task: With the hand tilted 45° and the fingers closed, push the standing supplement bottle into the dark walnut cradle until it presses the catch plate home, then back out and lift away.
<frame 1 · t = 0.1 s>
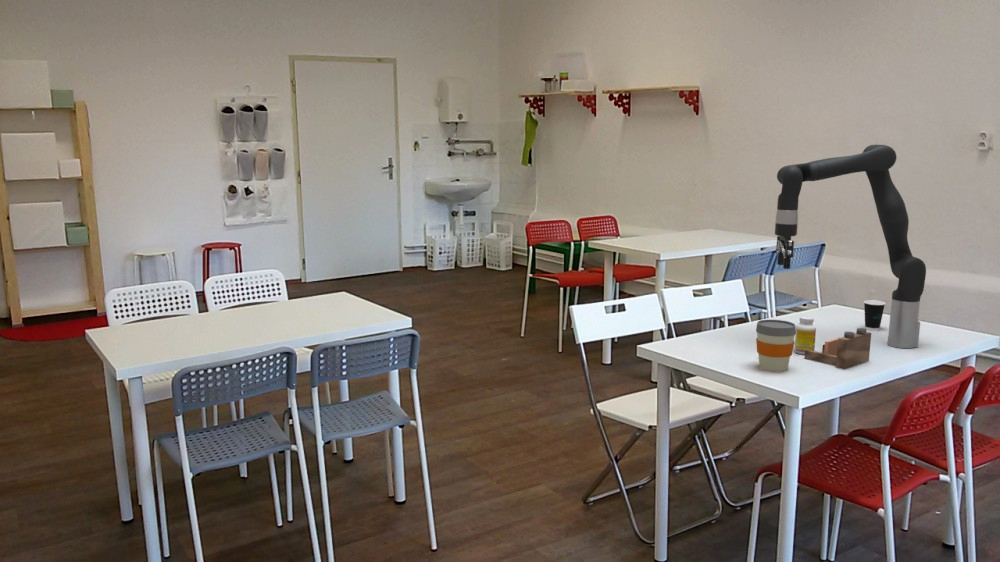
hand: (783, 266, 293), 29 cm above the table, tool pointing down, fingers open, 8 cm apart
cradle: (830, 359, 280), on the table
catch plate: (833, 348, 278), point 4 cm above the table, slide at 0.0 cm
supplement bottle: (804, 353, 287), on the table
dixie cup: (872, 329, 322), on the table
reusable coffee cup: (773, 368, 269), on the table
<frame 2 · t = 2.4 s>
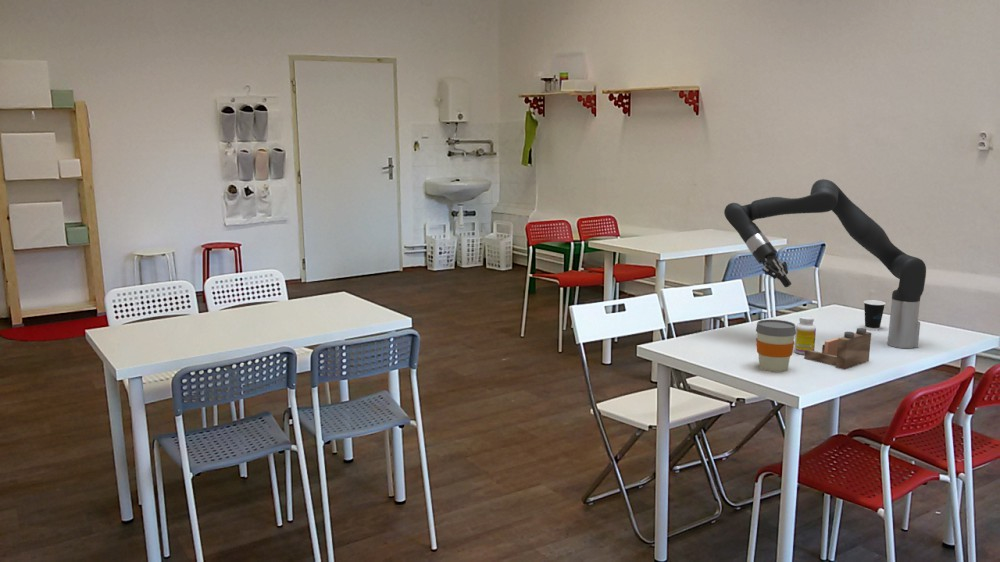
hand: (788, 285, 289), 23 cm above the table, tool tilted 45°, fingers closed
nothing on the table moved.
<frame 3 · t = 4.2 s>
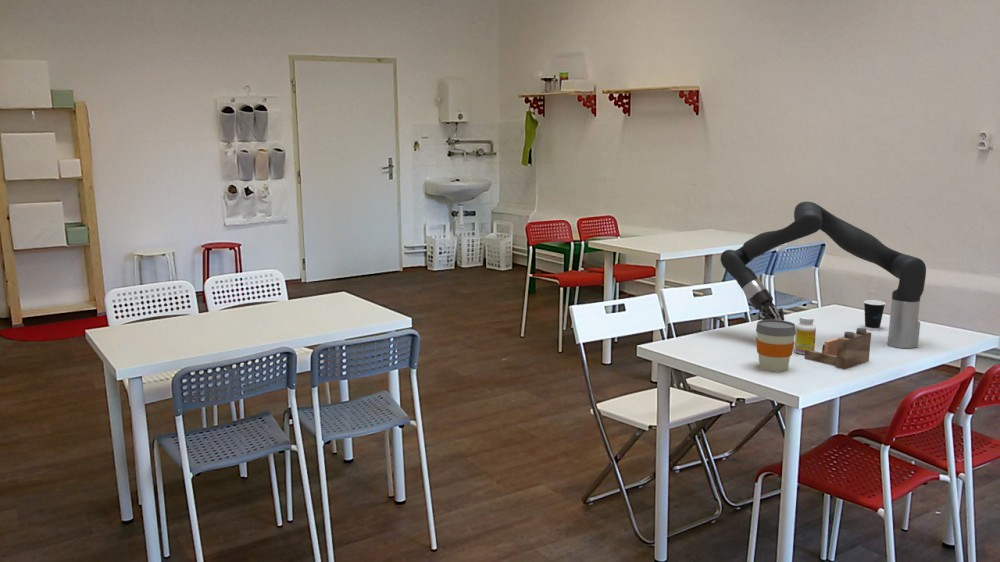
hand: (784, 332, 292), 6 cm above the table, tool tilted 45°, fingers closed
nothing on the table moved.
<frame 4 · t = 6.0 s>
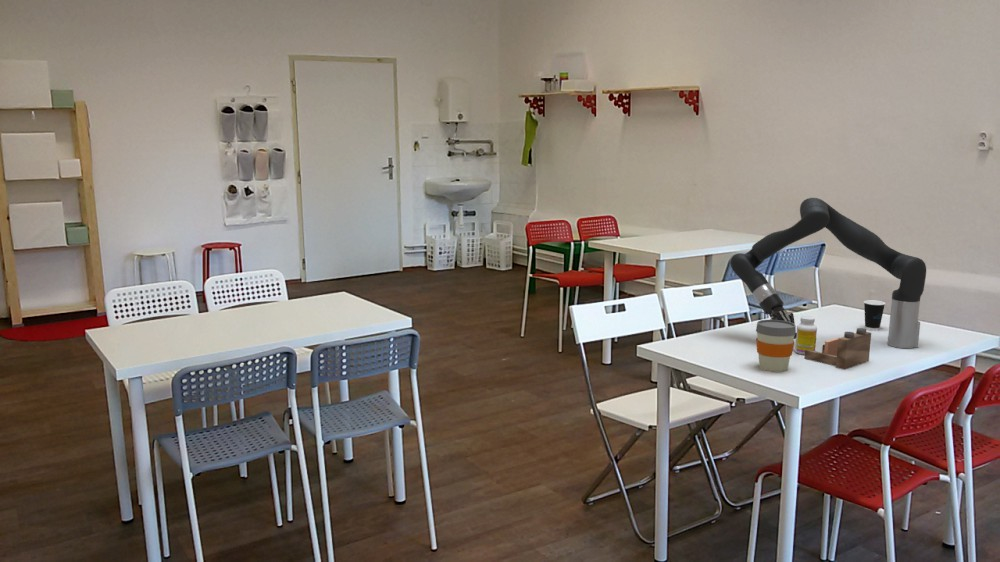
hand: (795, 338, 289), 5 cm above the table, tool tilted 45°, fingers closed
supplement bottle: (804, 353, 287), on the table, touching gripper
everything else where it was.
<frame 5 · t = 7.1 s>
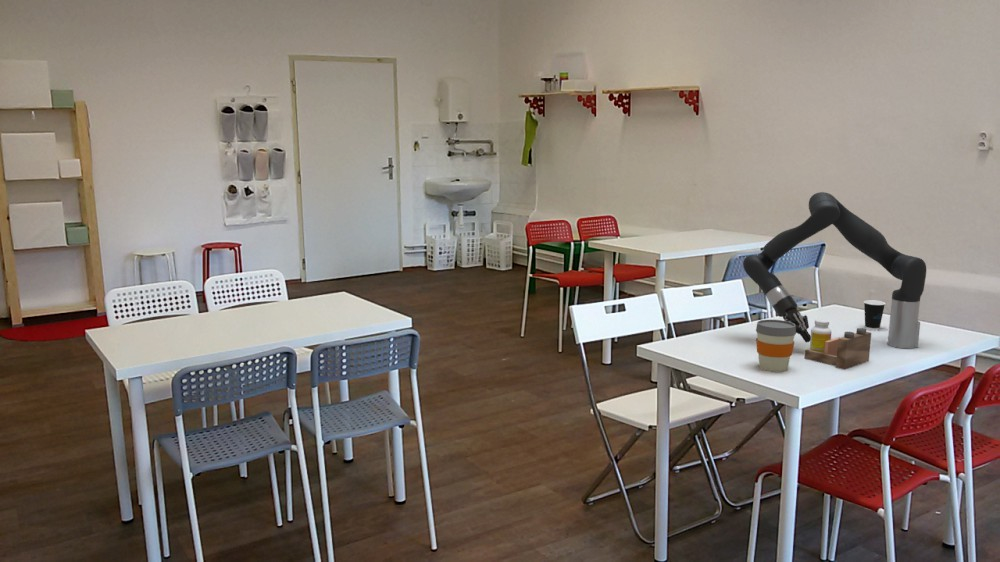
hand: (809, 340, 285), 5 cm above the table, tool tilted 45°, fingers closed
supplement bottle: (819, 356, 283), on the table, touching gripper
everything else where it was.
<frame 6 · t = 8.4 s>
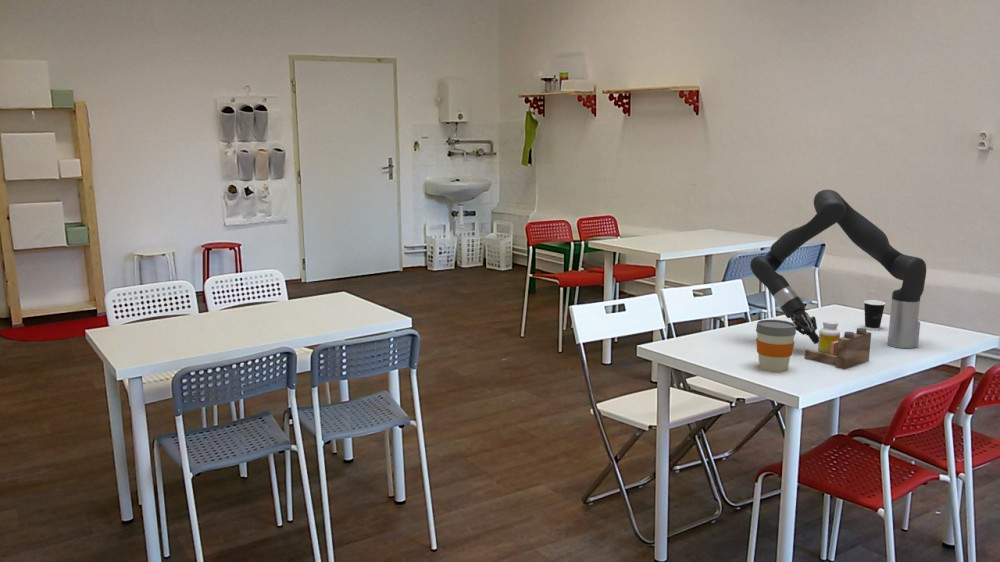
hand: (817, 342, 283), 5 cm above the table, tool tilted 45°, fingers closed
catch plate: (838, 349, 277), point 4 cm above the table, slide at 2.1 cm, touching supplement bottle
supplement bottle: (827, 358, 281), on the table, touching catch plate, gripper
everything else where it was.
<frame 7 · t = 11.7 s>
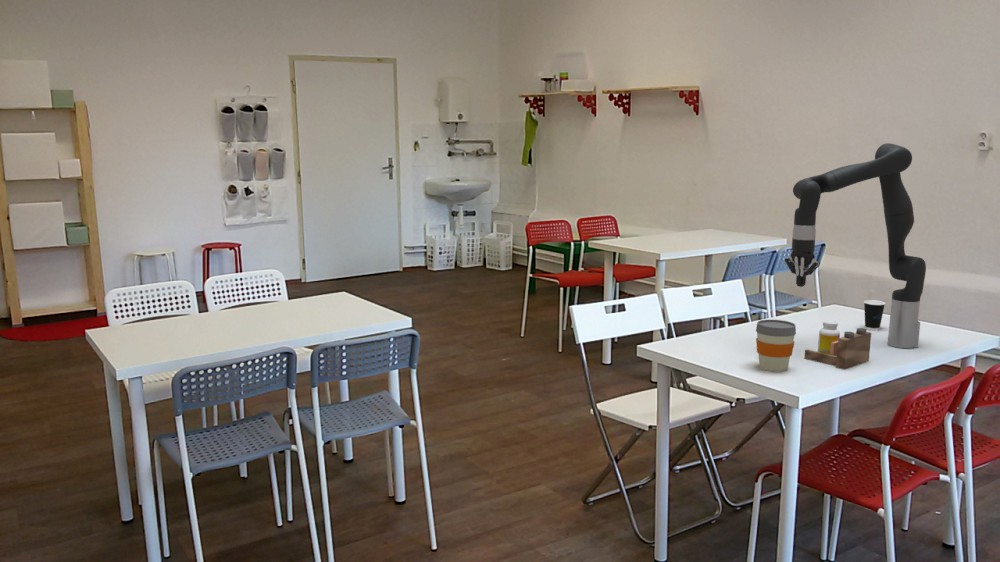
hand: (800, 286, 286), 24 cm above the table, tool pointing down, fingers closed
catch plate: (838, 349, 277), point 4 cm above the table, slide at 2.1 cm
supplement bottle: (827, 358, 281), on the table
everything else where it was.
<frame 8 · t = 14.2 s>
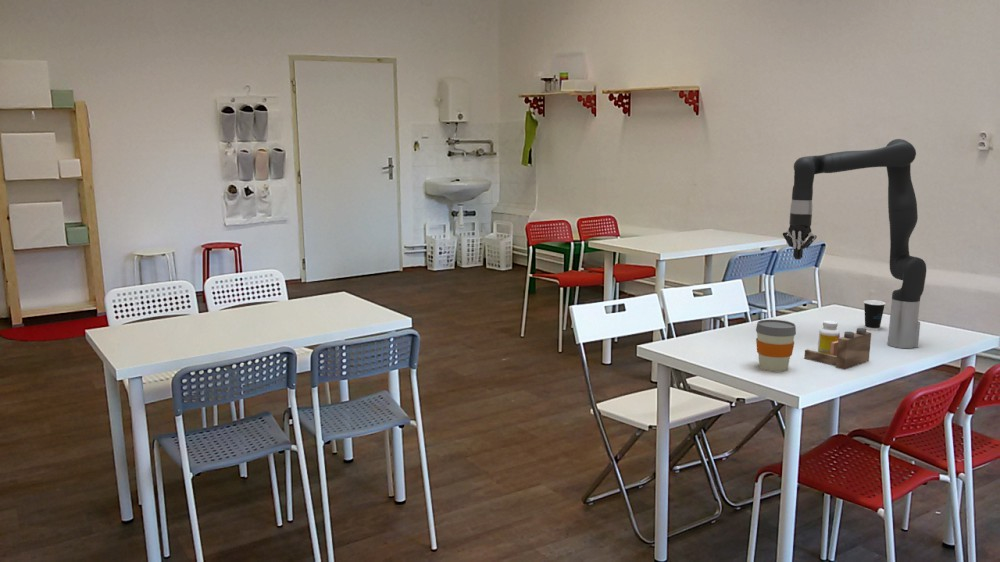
hand: (797, 259, 299), 31 cm above the table, tool pointing down, fingers closed
nothing on the table moved.
at the end: catch plate slide at 2.1 cm; supplement bottle 1.3 cm off-centre on the cradle, point 0.0 cm above the cradle's base; supplement bottle tilted 0° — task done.
